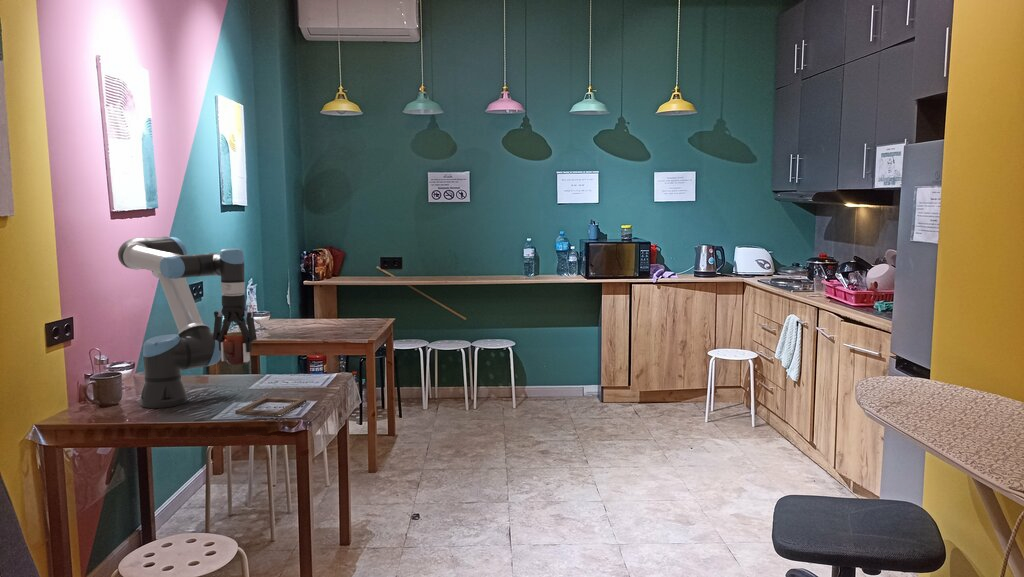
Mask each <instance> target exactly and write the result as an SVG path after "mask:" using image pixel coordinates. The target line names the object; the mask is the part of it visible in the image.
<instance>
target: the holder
mask: <svg viewBox="0 0 1024 577" xmlns="http://www.w3.org/2000/svg"><path fill="white" fill-rule="evenodd" d="M270 401H272V403H273V402H274V403H275V402H276V403H289V402H292V403H289V404H288V405H287V406H285V407H283V408H281V409H279V410H276V411H275V410H257V409H253V408H256V407H258V406H260V405H262V404H264V403H266V402H270ZM293 402H294V403H293ZM304 402H305V403H306V402H307V398H296V397H295V398H294V397H293V398H291V397H276V396H275V397H273V396H270V397H269V396H263V397H261V398H259V399H257V400H255V401H252V402H251V403H249V404H246V405H245V406H242V407H241V408H238V409H235V411H234V413H236V414H235V415H248V414H250V415H251V416H265V415H274V416H273V417H279V416H278V415H282V414H283V415H285V414H287V413H288V412H287V411H289V410H291V409H292V410H294V409H296V408H298V407H300V406H301V405H303V404H305V403H304ZM299 405H300V406H299ZM297 406H298V407H297ZM295 407H296V408H295ZM293 408H294V409H293ZM292 410H291V411H292ZM286 412H287V413H286ZM289 412H290V411H289ZM284 413H285V414H284ZM250 415H249V416H250ZM275 415H277V416H275ZM283 415H282V416H283Z"/></svg>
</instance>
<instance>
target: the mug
mask: <svg viewBox="0 0 1024 577" xmlns="http://www.w3.org/2000/svg"><path fill="white" fill-rule="evenodd" d="M224 338H225V340H224V342H223V348H224V352H225V354H226V358H227V360H226V362H227V363H228V364H229V365H231V366H241V365H247V364H248V363H249V362H250V361H248V362H244V360H243V343H244V342H245V340H244V338H243V335H242V333H241V331H233V332H232V331H230V332H227V335H224Z"/></svg>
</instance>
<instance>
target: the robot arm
mask: <svg viewBox="0 0 1024 577" xmlns="http://www.w3.org/2000/svg"><path fill="white" fill-rule="evenodd" d="M117 257H118V260H119V262H120V264H121V265H122V266H123V267H125V268H126V269H131V270H136V271H138V270H147V271H151V273H152V275H153V276H154V277H155V278H158V279H159V282H160V285H161V287H162V290H163V294H164V296H165V298H166V300H167V303H168V306H169V309H170V312H171V314H172V317H173V319H174V322H175V325H176V327H177V330H178V333H171V334H161V335H156V336H154V337H153V336H152V337H151V338H148V339H147V340H145V341H144V343H143V345H142V346H143V349H142V351H143V352H142V356H143V369H144V370H143V371H144V373H143V374H144V384H143V387H142V391H141V396H140V398H139V403H140V404H139V405H140V407H142V408H147V409H148V408H149V409H163V408H171V407H175V406H181V405H184V404H185V403H187V402H188V397H189V395H188V392H187V389H186V388H185V385H184V383H183V380H182V371H185V370H193V369H198V368H207V367H209V366H213V365H216V364H218V363H219V361H220V360H221V361H220V362H225V361H226V362H227V358H226V354H225V352H224V348H223V342H224V340H225V338H224V335H227V333H229V329H230V326H231V324H232V322H233V323H236V324H237V326H238V328H239V332H241V333H242V335H243V338H244V340H245V342H244V343H243V360H244V362H248V361H249V362H250V361H251V358H250V354H251V353H250V352H252V343H253V342H255V341H256V340H257V338H258V337H257V333H256V326H255V320H254V318H255V317H254V316H255V312H254V311H249V310H247V309H246V295H245V293H246V284H245V279H246V278H245V258H244V257H245V256H244V251H243V249H242V248H222V249H221V250H220V251H219V253H217V252H209V253H201V254H198V253H197V254H188V250H187V248H186V245H185V244H184V242H183V241H182V240H181V239H180V238H178V237H175V236H161V237H156V236H155V237H134V238H130V239H128V240H126V241H125V242H123V243H122V244H121V246H120V247H119V248H118V251H117ZM210 276H211V277H212V276H213V277H214V276H218V277H219V276H220V286H221V287H220V288H221V290H220V292H221V295H222V296H221V306H222V308H221V310H215V311H214V312H213V316H214V326H213V332H212V331H211V329H210V327H209V325H207V324H205V323H203V319H202V317H201V315H200V312H199V309H198V307H197V304H196V302H195V299H194V296H193V294H192V292H191V289H190V286H189V283H188V282H187V278H194V277H195V278H196V277H199V278H200V277H210ZM223 317H224V318H223ZM244 317H245V318H246V320H245V318H244ZM222 320H223V322H222ZM222 323H223V324H222ZM249 362H248V363H249Z"/></svg>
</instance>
